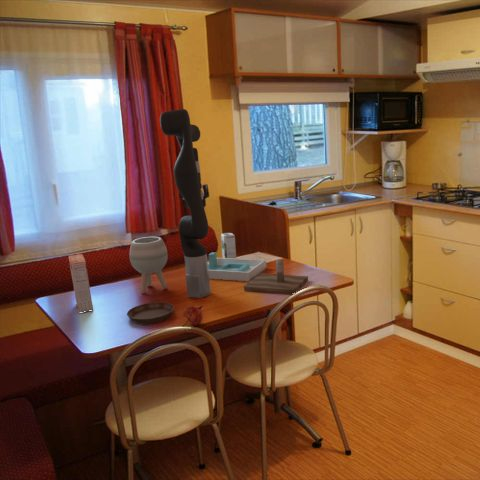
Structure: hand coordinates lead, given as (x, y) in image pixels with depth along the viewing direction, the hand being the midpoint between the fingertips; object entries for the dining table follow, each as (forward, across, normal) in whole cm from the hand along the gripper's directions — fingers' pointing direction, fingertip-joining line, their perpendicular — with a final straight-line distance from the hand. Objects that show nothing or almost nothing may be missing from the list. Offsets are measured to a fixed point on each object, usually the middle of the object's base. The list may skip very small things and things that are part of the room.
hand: (195, 207), depth 245 cm
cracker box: (+32, -28, -49) cm, 65 cm away
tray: (+32, +13, +6) cm, 35 cm away
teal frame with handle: (+31, +11, +6) cm, 33 cm away
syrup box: (+32, +4, +22) cm, 39 cm away
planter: (+32, -12, -23) cm, 41 cm away
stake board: (+32, +40, -7) cm, 52 cm away
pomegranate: (+32, +26, -54) cm, 68 cm away
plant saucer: (+33, +6, -51) cm, 61 cm away
